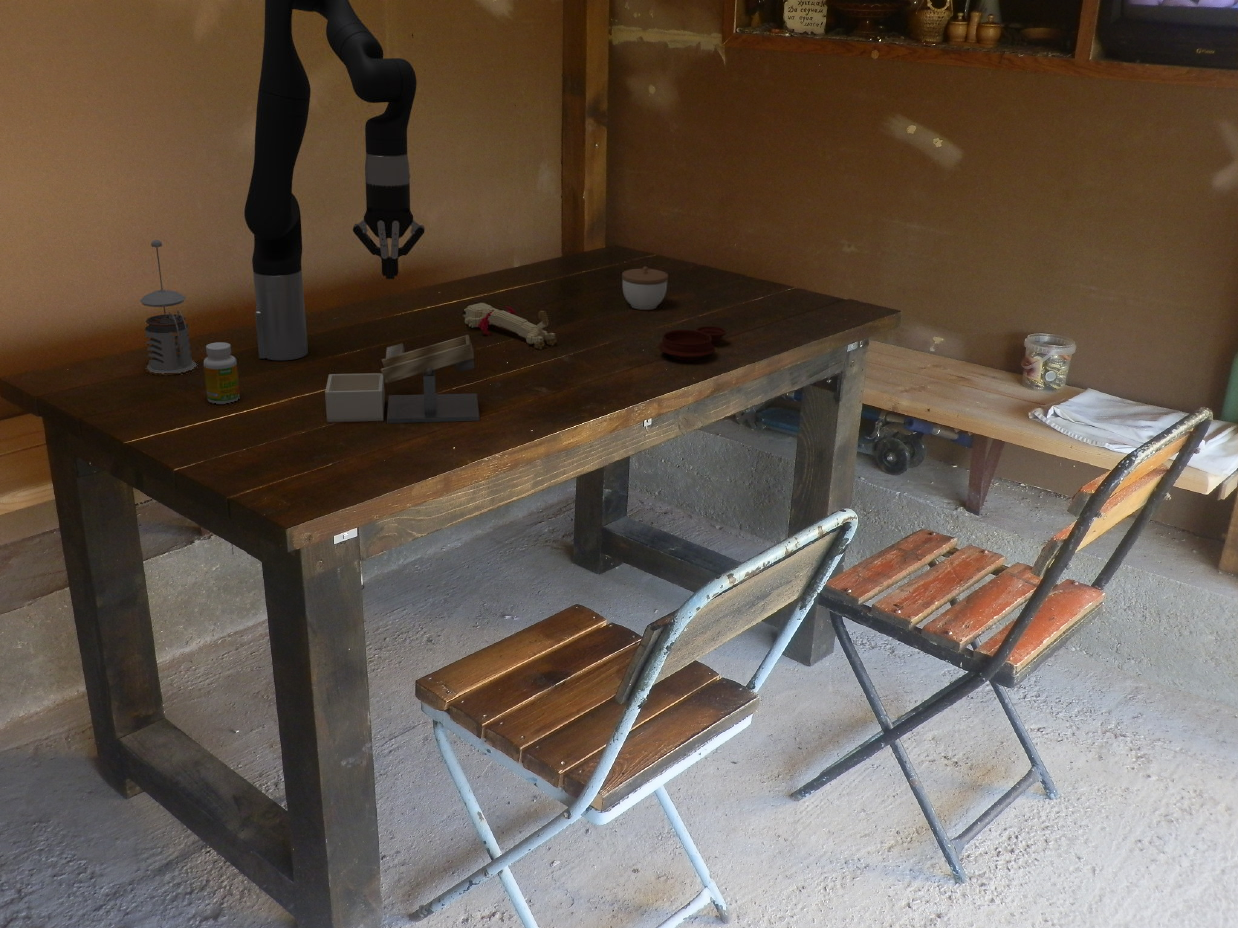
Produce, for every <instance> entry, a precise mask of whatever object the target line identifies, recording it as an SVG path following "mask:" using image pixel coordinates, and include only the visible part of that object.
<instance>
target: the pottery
mask: <svg viewBox="0 0 1238 928" xmlns="http://www.w3.org/2000/svg"><path fill="white" fill-rule="evenodd" d="M726 333H727V330H726V329H724V328H723V327H718V326H710V325H709V326H700V327H698V328H696V330H693V329H674V330H669V331H666V332H665V333H663V335H662V341H661V342H660V343H659V344H658V350H660V351H661V352H663V353H665V354H667V355H670V356H671V357H672V358H673V359H674V360H679V361H682V360H684V361H686V362H691V361H690V360H694V361H698V360H700V359H701V357H705V356H709V355H711V354H713V353H715V351H716V348H715V347H716V346H717V345H718V342H719V341H721V340H722V339H723V337H725V335H726ZM699 358H700V359H699Z"/></svg>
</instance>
